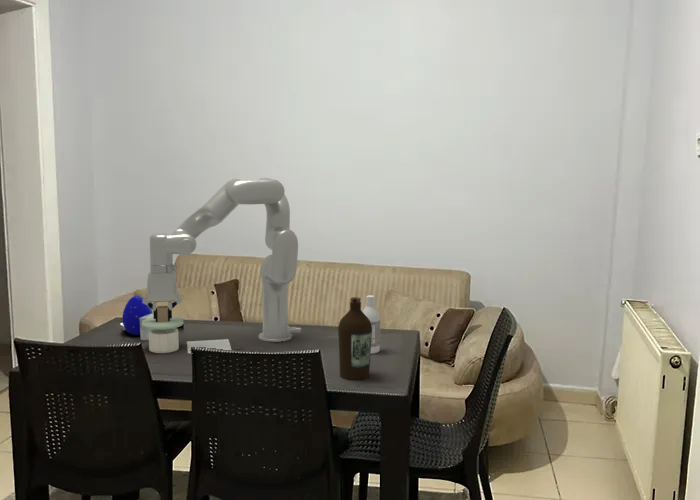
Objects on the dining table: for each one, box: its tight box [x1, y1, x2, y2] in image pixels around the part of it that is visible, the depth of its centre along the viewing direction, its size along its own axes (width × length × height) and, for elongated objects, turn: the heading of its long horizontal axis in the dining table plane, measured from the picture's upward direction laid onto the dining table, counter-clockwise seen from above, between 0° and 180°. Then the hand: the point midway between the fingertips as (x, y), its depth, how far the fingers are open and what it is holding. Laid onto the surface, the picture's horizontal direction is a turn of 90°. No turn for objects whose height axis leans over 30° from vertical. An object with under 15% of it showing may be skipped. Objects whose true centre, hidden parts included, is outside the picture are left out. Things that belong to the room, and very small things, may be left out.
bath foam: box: [362, 294, 381, 355], centre depth 247 cm, size 7×7×20 cm
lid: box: [142, 305, 184, 329], centre depth 245 cm, size 14×14×6 cm
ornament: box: [121, 295, 153, 336], centre depth 266 cm, size 11×9×15 cm
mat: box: [186, 338, 233, 354], centre depth 251 cm, size 15×15×1 cm
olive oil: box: [337, 296, 372, 381], centre depth 220 cm, size 11×11×25 cm
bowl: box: [148, 327, 180, 354], centre depth 246 cm, size 10×10×7 cm
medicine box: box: [140, 312, 154, 341], centre depth 261 cm, size 8×4×9 cm, turn 163°
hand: (162, 320), depth 245 cm, fingers closed on lid, 3 cm apart
